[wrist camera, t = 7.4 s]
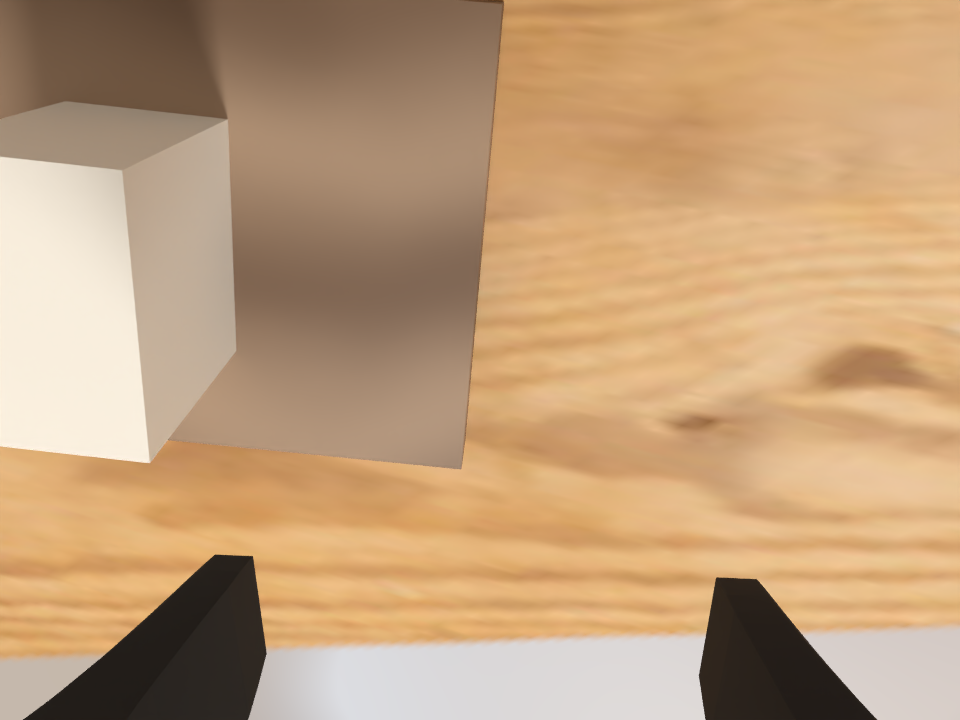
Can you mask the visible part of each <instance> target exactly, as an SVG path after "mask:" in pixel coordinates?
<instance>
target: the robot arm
mask: <svg viewBox="0 0 960 720" xmlns="http://www.w3.org/2000/svg"><path fill="white" fill-rule="evenodd" d="M266 654H267V653H266V646H265V639H264V632H263V625H262V618H261V611H260V604H259V596H258V589H257V582H256V575H255V568H254V561H253V556H233V555H214V556H213V557H212V558H211V559H210V560H208V561H207V562H206V563H205V564H204V565H203V566H202V567H201V568H200V569H198V570H197V571H196V572H195V573H194V574H193V575H192V576H191V577H190V578H189V579H188V580H187V581H186V582H184V583H183V584H182V585H181V586H180V587H179V588H178V589H177V590H176V591H175V592H174V593H173V594H172V595H171V596H170V597H168V598H167V599H166V600H165V601H164V602H163V603H162V604H161V605H160V606H159V607H158V608H157V609H156V610H154V611H153V612H152V613H151V614H150V615H149V616H148V617H147V618H146V619H145V620H143V621H142V622H141V623H140V624H139V625H138V626H137V627H136V628H135V629H133V630H132V631H131V632H130V633H129V634H128V635H127V636H126V637H124V638H123V639H122V640H121V641H120V642H119V643H118V644H117V645H116V646H114V647H113V648H112V649H111V650H110V651H109V652H108V653H106V654H105V655H104V656H103V657H102V658H101V659H99V660H98V661H97V662H96V663H95V664H93V665H92V666H91V667H90V668H88V669H87V670H86V671H85V672H84V673H82V674H81V675H80V676H79V677H78V678H76V679H75V680H74V681H73V682H72V683H70V684H69V685H68V686H67V687H65V688H64V689H63V690H62V691H61V692H59V693H58V694H57V695H55V696H54V697H53V698H52V699H50V700H49V701H48V702H46V703H45V704H44V705H43V706H41V707H40V708H38V709H37V710H36V711H34V712H33V713H32V714H30V715H29V716H28V717H26V718H25V719H23V720H248V718H249V715H250V712H251V708H252V705H253V701H254V698H255V695H256V691H257V688H258V684H259V680H260V676H261V673H262V669H263V665H264V661H265V657H266ZM699 679H700V686H701V692H702V700H703V706H704V712H705V719H706V720H877V719H876V718H875V717H874V716H873V715H872V714H871V713H870V712H869V711H868V710H867V708H865V706H864V705H863V704H862V703H861V702H860V701H859V700H858V699H857V698H856V697H855V695H854V694H853V693H852V692H851V691H850V690H849V689H848V687H847V686H846V685H845V684H844V683H843V682H842V681H841V680H840V678H839V677H838V676H837V675H836V674H835V673H834V672H833V671H832V669H831V668H830V667H829V666H828V665H827V664H826V663H825V661H824V660H823V659H822V658H821V657H820V656H819V654H818V653H817V652H816V651H815V650H814V648H813V647H812V646H811V645H810V644H809V642H808V641H807V640H806V639H805V638H804V636H803V635H802V634H801V633H800V632H799V630H798V629H797V628H796V627H795V625H794V624H793V623H792V622H791V620H790V619H789V618H788V617H787V616H786V614H785V613H784V612H783V611H782V609H781V608H780V607H779V606H778V604H777V603H776V602H775V601H774V599H773V598H772V597H771V596H770V594H769V593H768V592H767V591H766V589H765V588H764V587H763V586H762V585H761V584H760V582H759V581H758V580H757V579H738V578H716V582H715V587H714V593H713V599H712V605H711V610H710V616H709V622H708V627H707V633H706V639H705V644H704V650H703V656H702V662H701V668H700V673H699Z"/></svg>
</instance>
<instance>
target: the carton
mask: <svg viewBox="0 0 960 720" xmlns="http://www.w3.org/2000/svg"><path fill="white" fill-rule="evenodd" d="M235 352H236V328H235V301H234V273H233V246H232V218H231V191H230V163H229V135H228V119H222V118H213V117H204V116H195V115H186V114H177V113H168V112H159V111H150V110H141V109H132V108H123V107H114V106H105V105H96V104H87V103H78V102H69V101H64V102H61V103H57V104H53V105H50V106H46V107H42V108H39V109H35V110H31V111H28V112H24V113H20V114H17V115H13V116H9V117H6V118H2V119H0V446H2V447H11V448H20V449H29V450H38V451H47V452H55V453H64V454H73V455H82V456H91V457H100V458H109V459H118V460H126V461H135V462H144V463H150V462H151V461H152V460H153V458H154V457H155V456H156V454H157V453H158V452H159V451H160V449H161V448H162V447H163V445H164V444H165V443H166V441H167V440H168V439H169V438H170V436H171V435H172V434H173V432H174V431H175V430H176V429H177V427H178V426H179V425H180V423H181V422H182V421H183V419H184V418H185V417H186V416H187V414H188V413H189V412H190V410H191V409H192V408H193V406H194V405H195V404H196V403H197V401H198V400H199V399H200V397H201V396H202V395H203V393H204V392H205V391H206V390H207V388H208V387H209V386H210V384H211V383H212V382H213V381H214V379H215V378H216V377H217V375H218V374H219V373H220V371H221V370H222V369H223V368H224V366H225V365H226V364H227V362H228V361H229V360H230V358H231V357H232V356H233V355H234V353H235Z"/></svg>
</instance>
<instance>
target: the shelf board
mask: <svg viewBox="0 0 960 720" xmlns="http://www.w3.org/2000/svg"><path fill="white" fill-rule="evenodd" d="M503 8H504V2H500V1H489V0H0V119H2V118H6V117H9V116H13V115H17V114H20V113H24V112H28V111H31V110H35V109H39V108H42V107H46V106H50V105H53V104H57V103H61V102H64V101H69V102H78V103H87V104H96V105H105V106H114V107H123V108H132V109H141V110H150V111H159V112H168V113H177V114H186V115H195V116H204V117H213V118H222V119H228V135H229V163H230V191H231V218H232V246H233V273H234V301H235V328H236V352H235V353H234V355H233V356H232V357H231V358H230V360H229V361H228V362H227V364H226V365H225V366H224V368H223V369H222V370H221V371H220V373H219V374H218V375H217V377H216V378H215V379H214V381H213V382H212V383H211V384H210V386H209V387H208V388H207V390H206V391H205V392H204V393H203V395H202V396H201V397H200V399H199V400H198V401H197V403H196V404H195V405H194V406H193V408H192V409H191V410H190V412H189V413H188V414H187V416H186V417H185V418H184V419H183V421H182V422H181V423H180V425H179V426H178V427H177V429H176V430H175V431H174V432H173V434H172V435H171V436H170V438H169V439H168V440H172V441H182V442H192V443H202V444H212V445H222V446H232V447H242V448H252V449H262V450H272V451H282V452H292V453H302V454H312V455H322V456H332V457H342V458H353V459H363V460H373V461H383V462H393V463H403V464H413V465H423V466H433V467H443V468H453V469H461V468H462V460H463V452H464V445H465V436H466V425H467V414H468V402H469V391H470V380H471V369H472V357H473V346H474V335H475V324H476V312H477V301H478V290H479V278H480V267H481V256H482V245H483V233H484V222H485V211H486V200H487V188H488V177H489V166H490V155H491V143H492V132H493V121H494V109H495V98H496V87H497V76H498V64H499V53H500V42H501V31H502V19H503Z"/></svg>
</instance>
